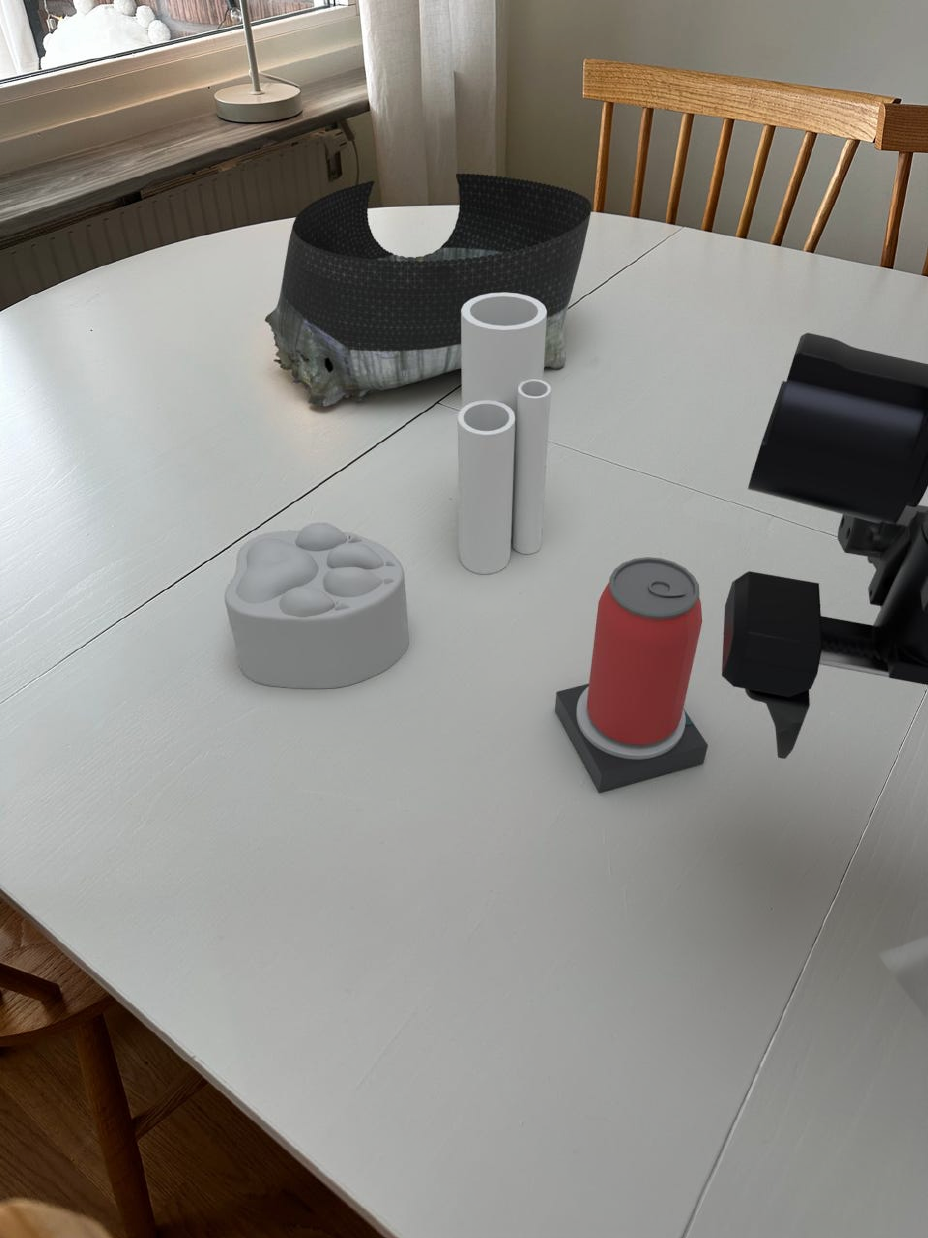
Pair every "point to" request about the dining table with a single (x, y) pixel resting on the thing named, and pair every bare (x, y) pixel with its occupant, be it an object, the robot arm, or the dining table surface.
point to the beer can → (643, 650)
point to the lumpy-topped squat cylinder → (316, 608)
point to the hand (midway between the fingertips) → (869, 769)
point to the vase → (502, 429)
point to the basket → (418, 284)
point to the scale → (625, 746)
